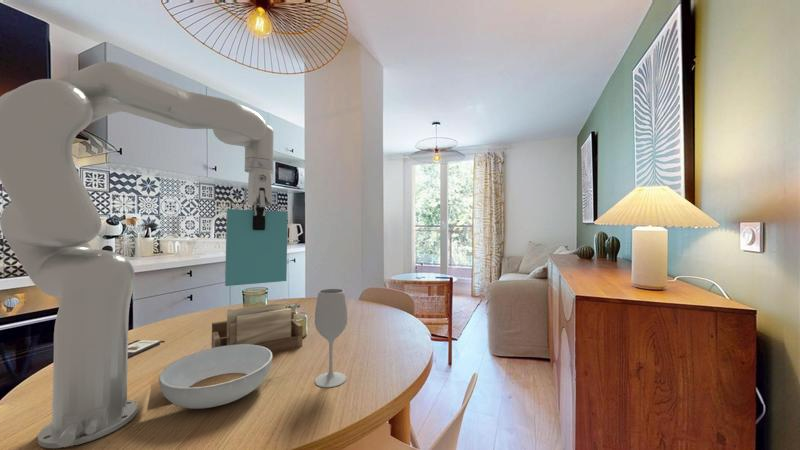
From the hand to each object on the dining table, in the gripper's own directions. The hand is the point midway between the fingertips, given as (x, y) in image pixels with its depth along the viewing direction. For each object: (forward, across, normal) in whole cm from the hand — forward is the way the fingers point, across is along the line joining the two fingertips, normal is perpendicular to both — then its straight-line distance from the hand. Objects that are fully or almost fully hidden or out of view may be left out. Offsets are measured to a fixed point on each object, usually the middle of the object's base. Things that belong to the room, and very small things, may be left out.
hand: (257, 229), depth 89 cm
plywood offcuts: (+34, -4, 0) cm, 34 cm away
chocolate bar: (+36, +21, +31) cm, 52 cm away
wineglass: (+36, -28, -11) cm, 47 cm away
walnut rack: (+36, -2, 0) cm, 36 cm away
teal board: (+15, 0, 0) cm, 15 cm away
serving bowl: (+36, -20, +11) cm, 42 cm away
